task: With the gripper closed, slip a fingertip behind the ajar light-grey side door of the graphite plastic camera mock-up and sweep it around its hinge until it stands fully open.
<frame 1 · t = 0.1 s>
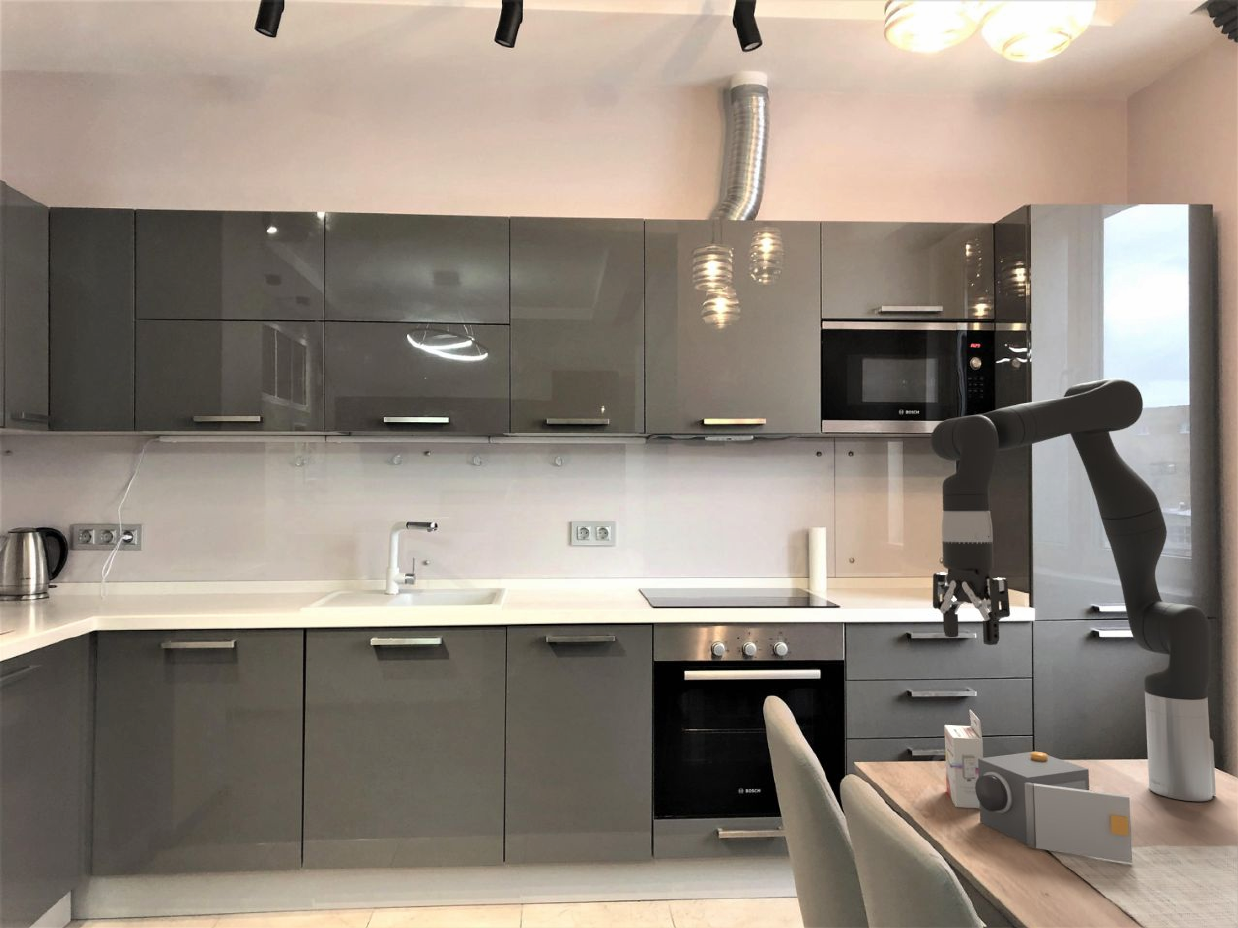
hand: (970, 640, 129), 29 cm above the table, fingers open, 8 cm apart
camera body: (1034, 828, 127), on the table
side door: (1076, 821, 116), point 5 cm above the table, hinge at 45.0°
ink cartridge box: (964, 801, 139), on the table
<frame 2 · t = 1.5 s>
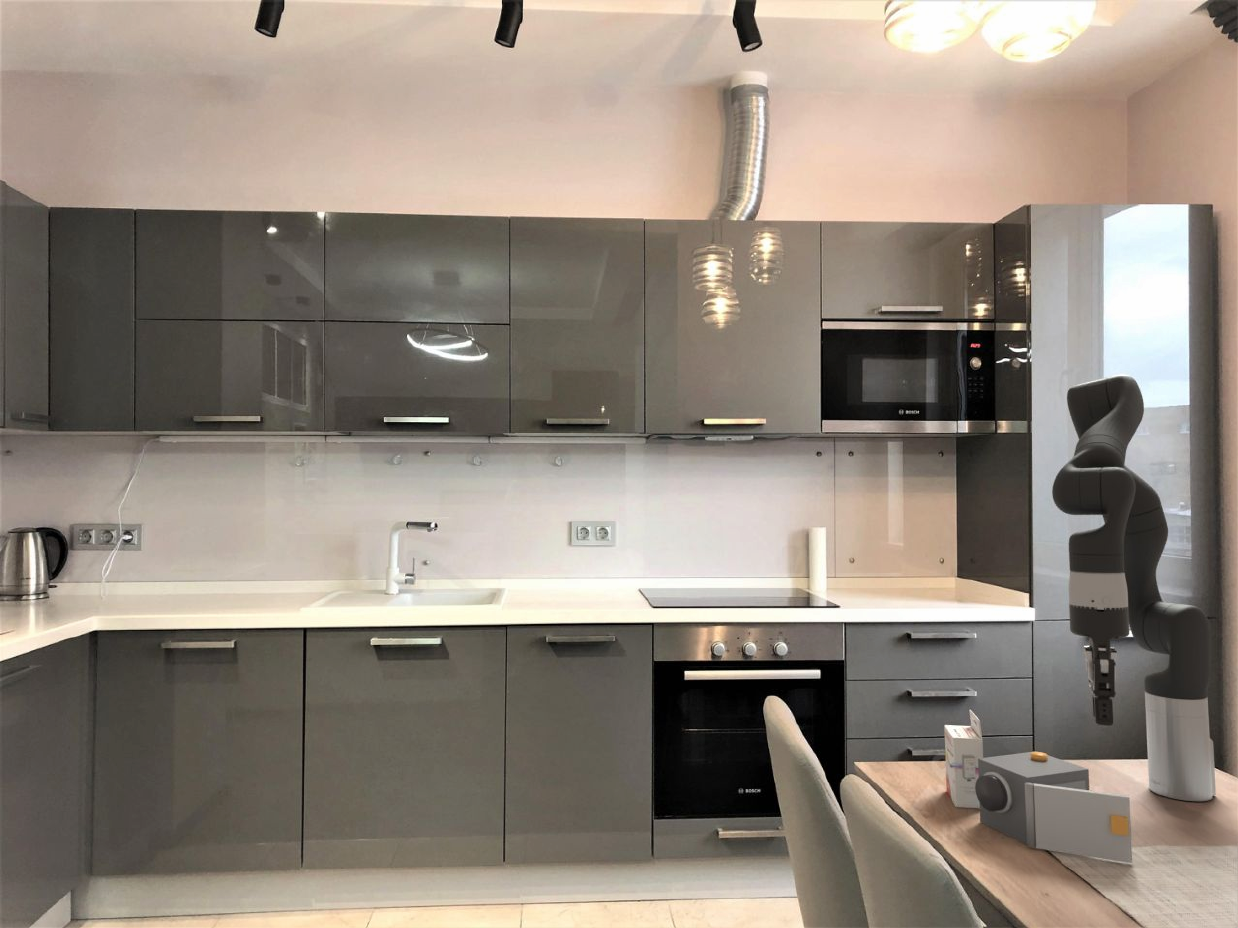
hand: (1103, 720, 118), 19 cm above the table, fingers open, 3 cm apart
nothing on the table moved.
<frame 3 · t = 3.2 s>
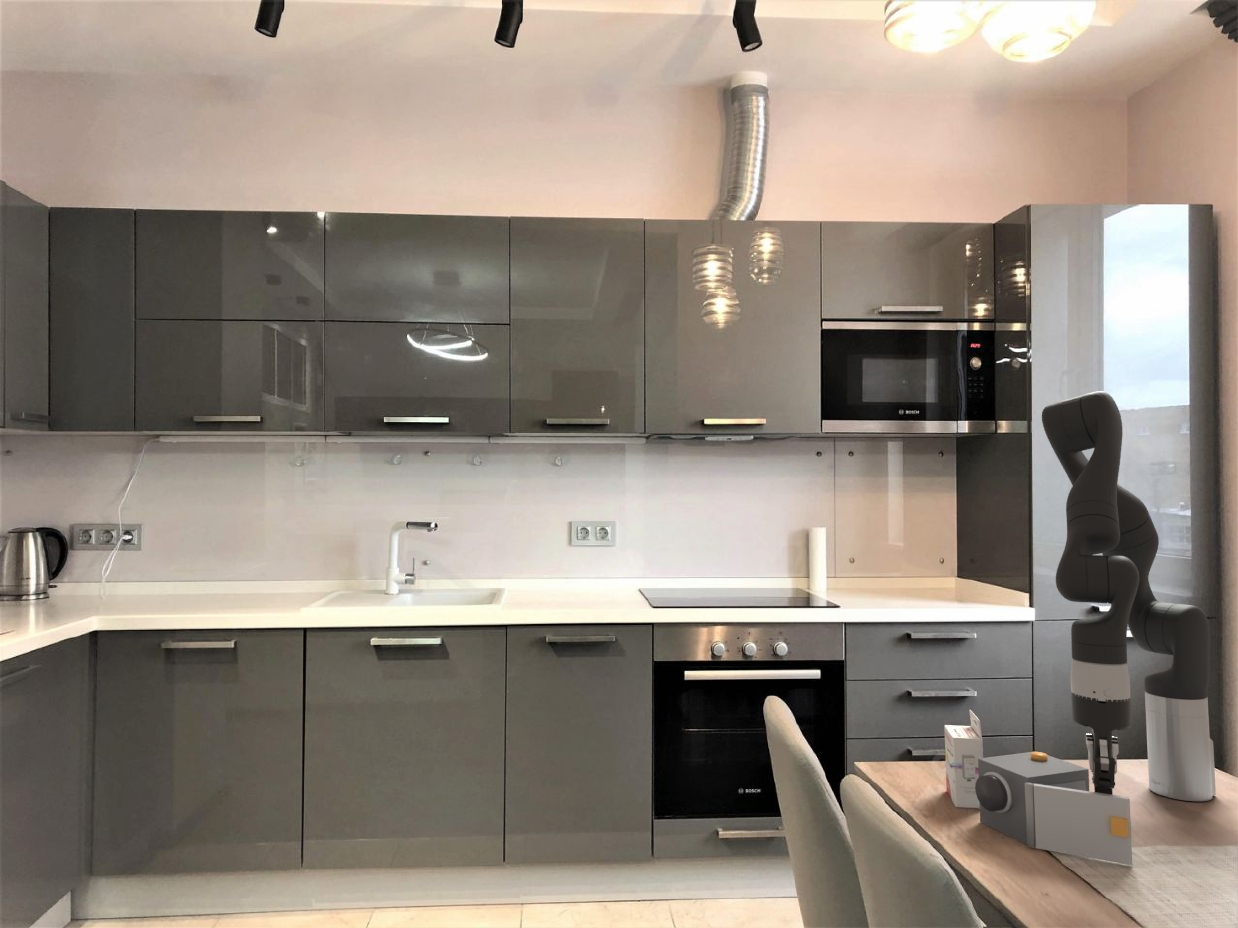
hand: (1104, 811, 117), 6 cm above the table, fingers closed
side door: (1076, 822, 116), point 5 cm above the table, hinge at 48.4°, touching gripper
everything else where it was.
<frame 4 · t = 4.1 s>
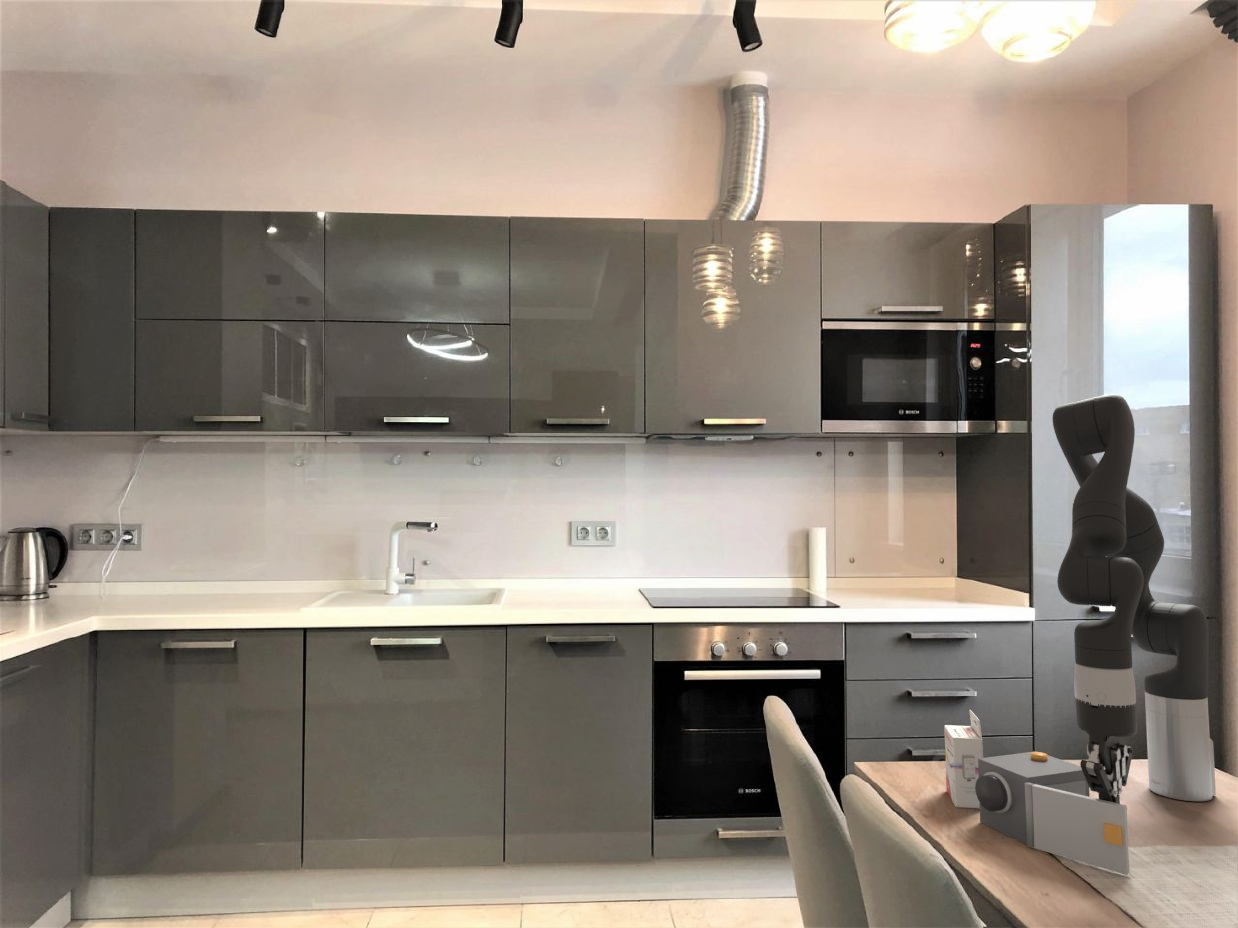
hand: (1110, 819, 114), 6 cm above the table, fingers closed
side door: (1073, 826, 115), point 5 cm above the table, hinge at 66.9°, touching gripper
everything else where it was.
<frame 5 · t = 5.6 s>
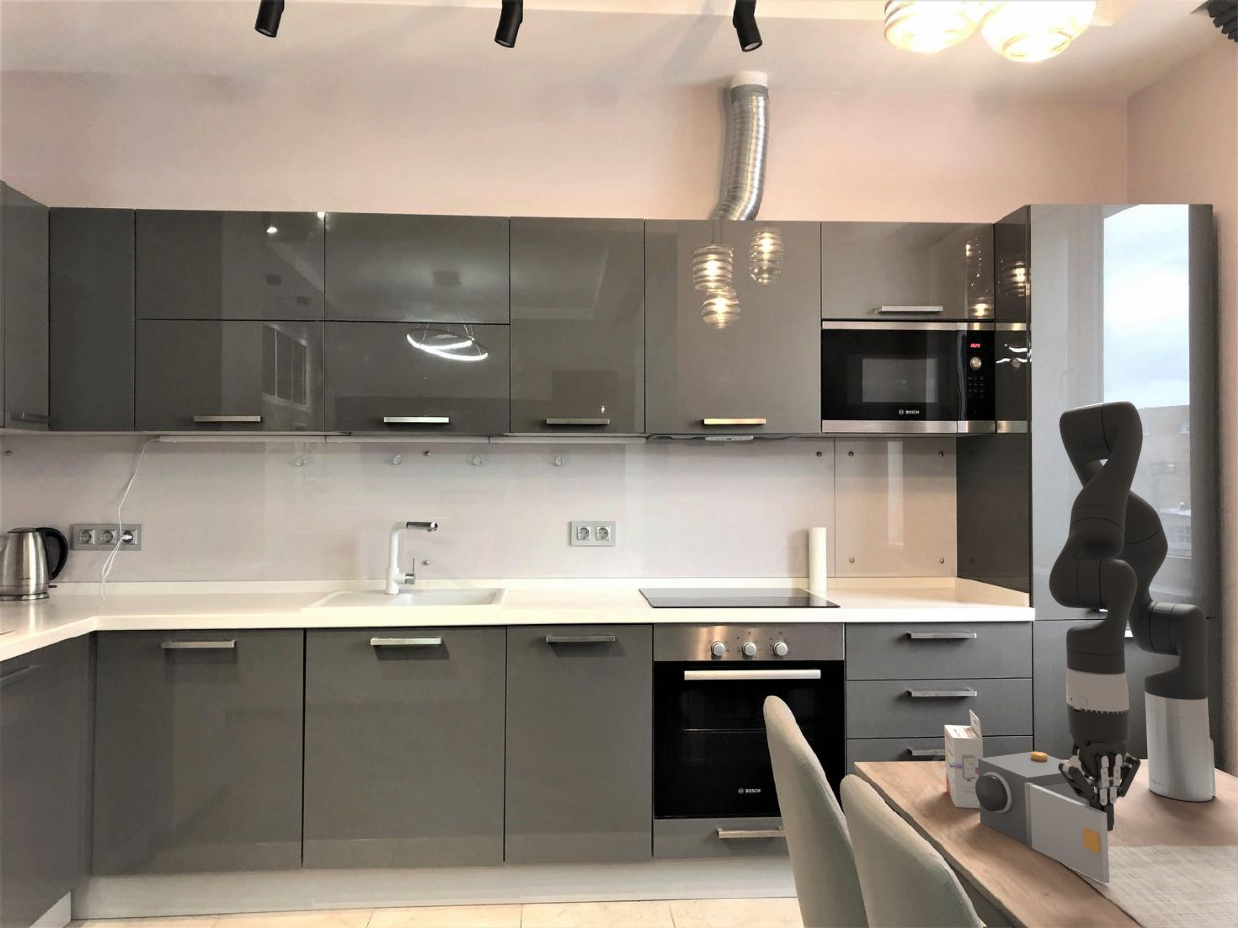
hand: (1102, 829, 111), 6 cm above the table, fingers closed
side door: (1062, 829, 114), point 5 cm above the table, hinge at 90.7°, touching gripper
everything else where it was.
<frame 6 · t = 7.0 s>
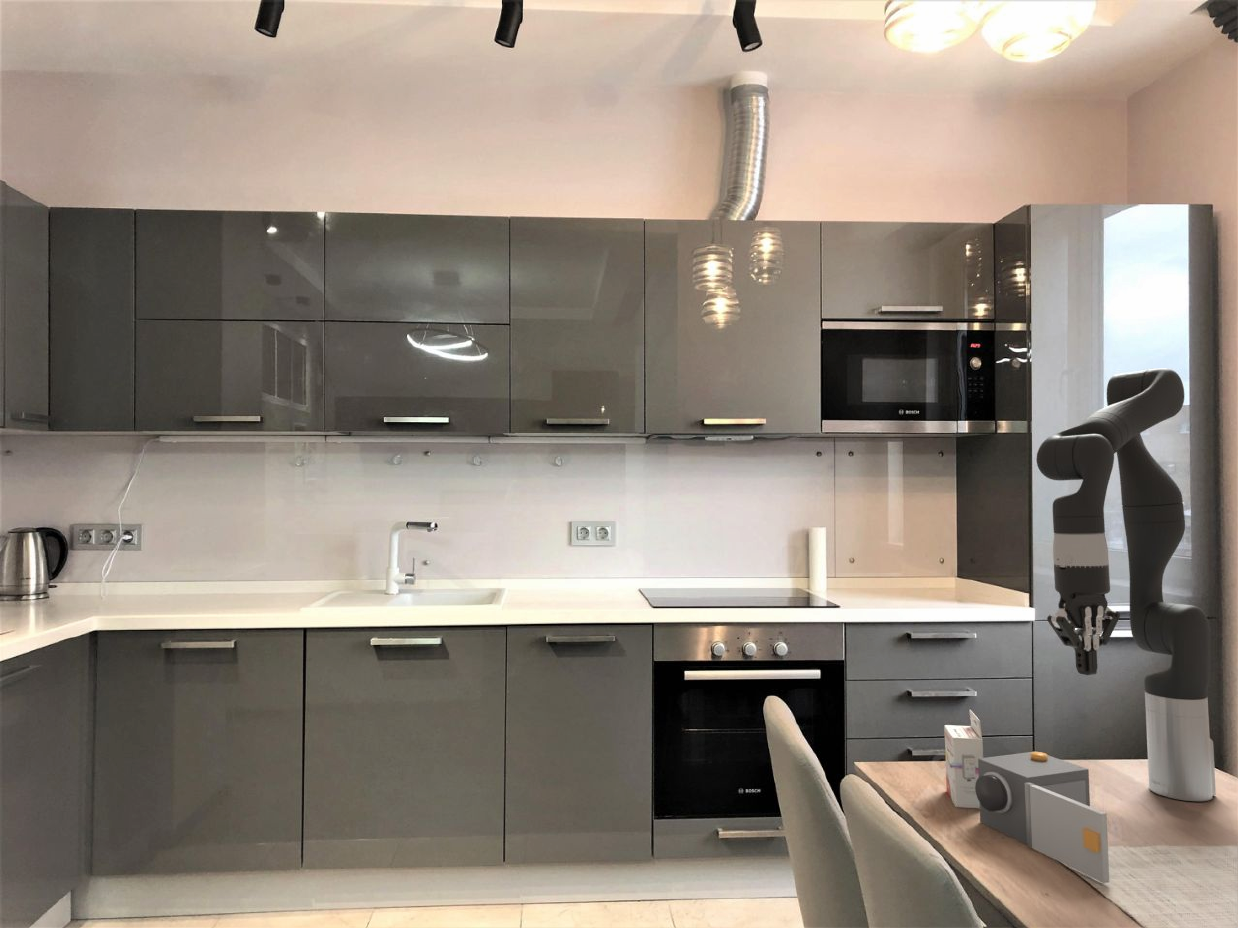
hand: (1087, 673, 125), 25 cm above the table, fingers closed
side door: (1062, 829, 114), point 5 cm above the table, hinge at 90.8°
everything else where it was.
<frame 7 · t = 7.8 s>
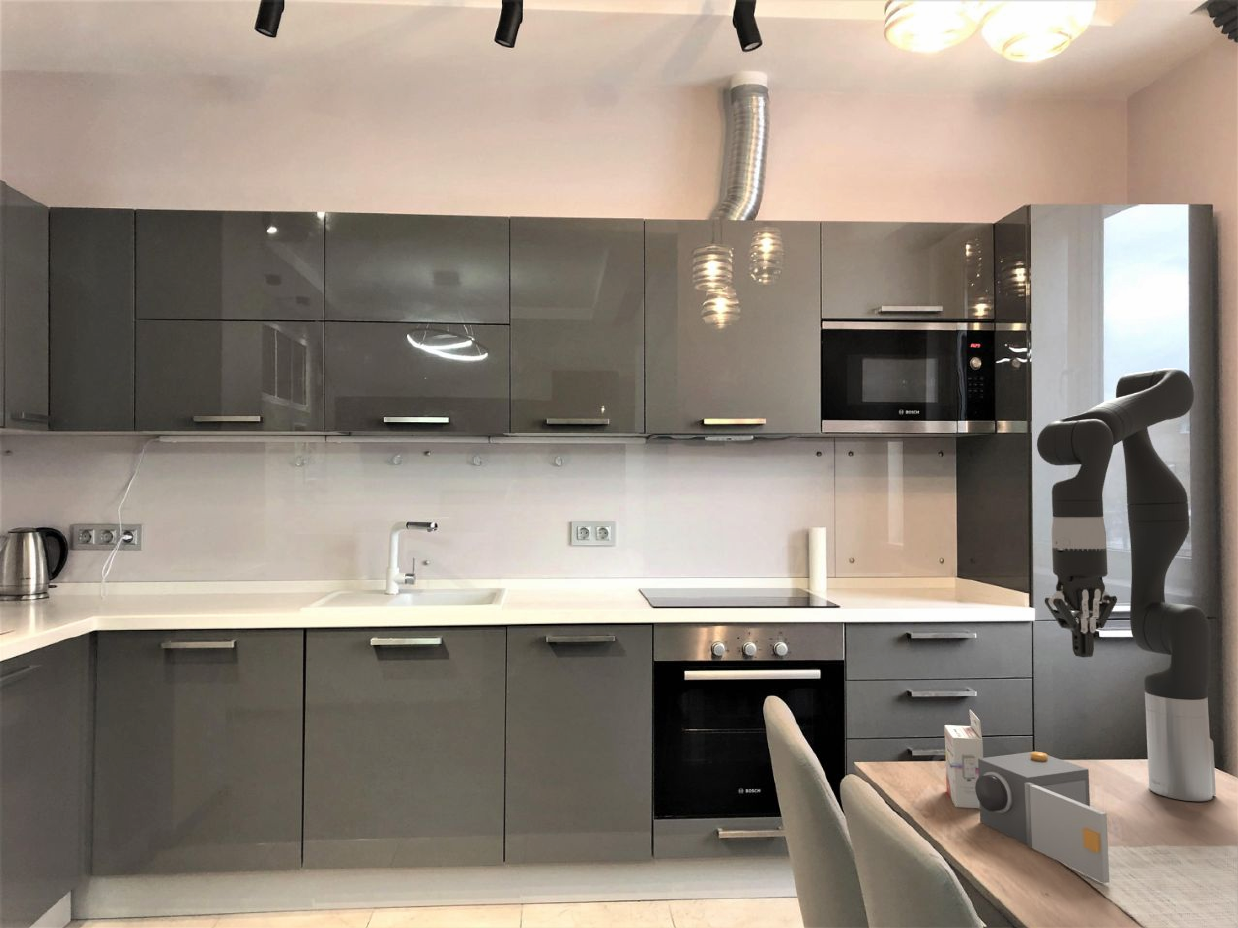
hand: (1083, 656, 127), 27 cm above the table, fingers closed
nothing on the table moved.
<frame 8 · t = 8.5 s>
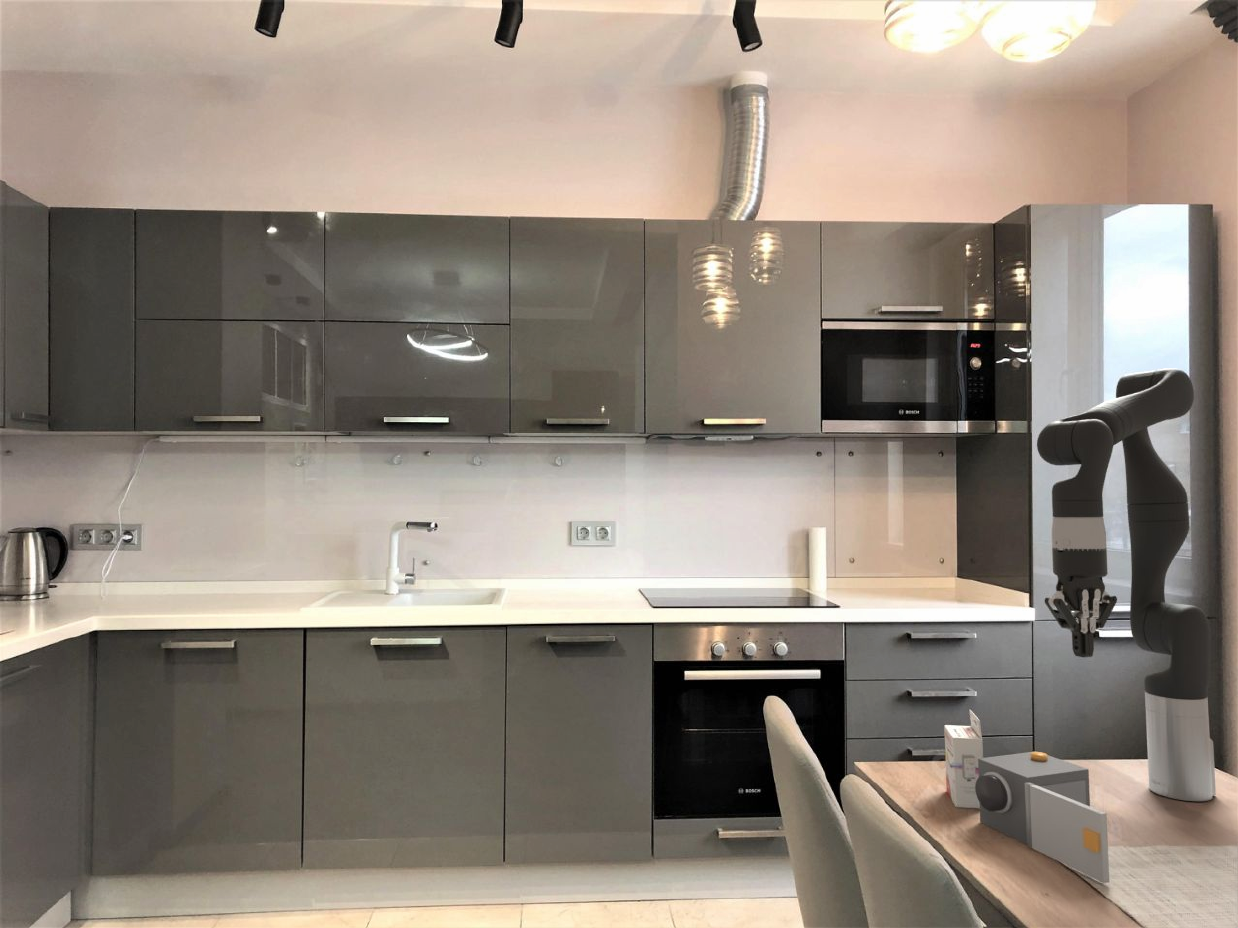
hand: (1083, 656, 127), 27 cm above the table, fingers closed
nothing on the table moved.
at the end: side door at +91° (first picture: +45°) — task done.
